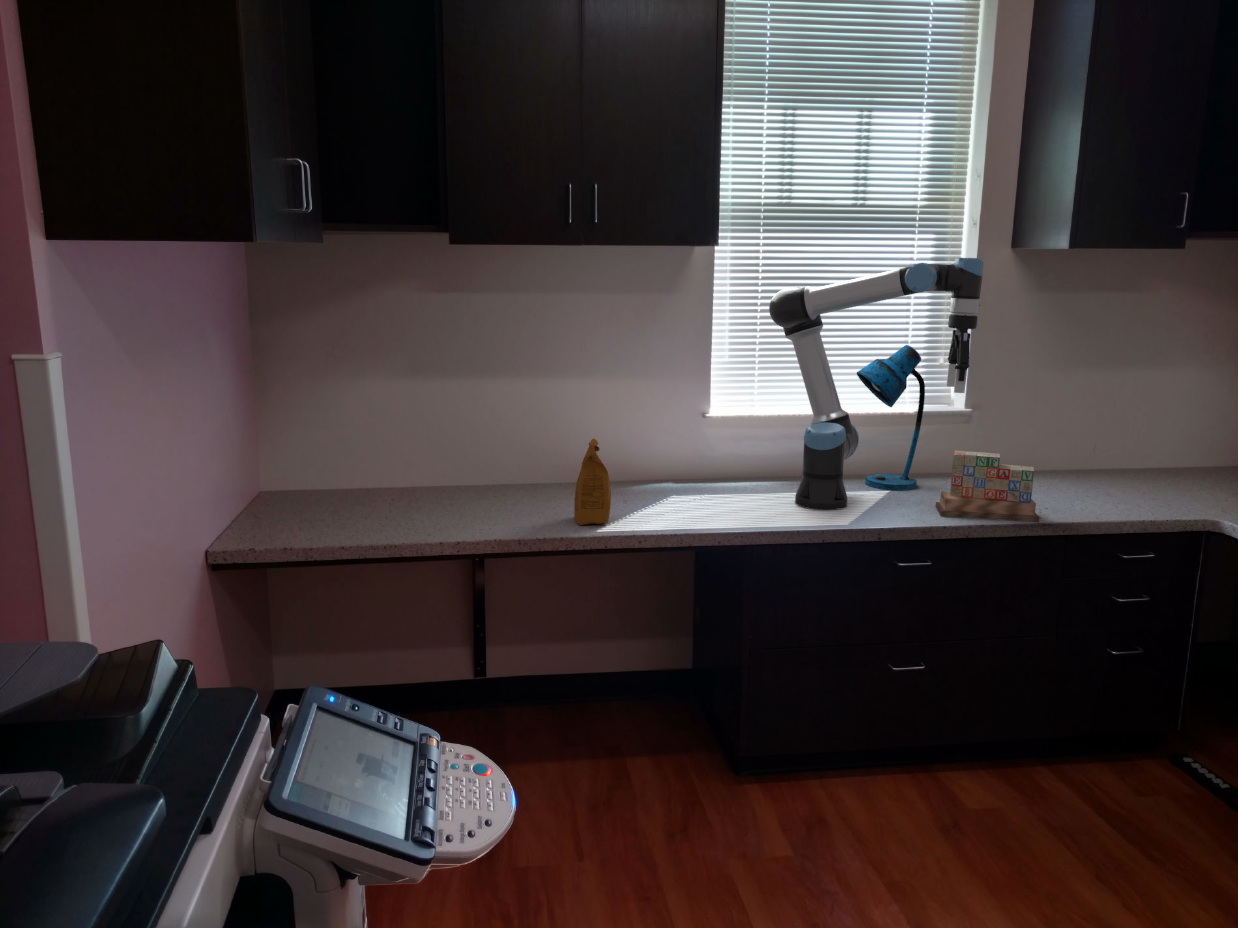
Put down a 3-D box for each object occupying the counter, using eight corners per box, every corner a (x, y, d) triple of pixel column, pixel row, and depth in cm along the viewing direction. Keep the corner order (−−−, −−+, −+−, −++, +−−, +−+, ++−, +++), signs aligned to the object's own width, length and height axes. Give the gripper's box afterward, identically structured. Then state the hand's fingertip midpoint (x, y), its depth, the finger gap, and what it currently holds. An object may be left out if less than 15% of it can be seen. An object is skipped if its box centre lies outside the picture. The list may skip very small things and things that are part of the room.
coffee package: (610, 514, 261) (611, 437, 256) (610, 526, 248) (611, 445, 244) (575, 514, 260) (575, 437, 256) (573, 526, 248) (573, 445, 244)
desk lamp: (843, 479, 309) (852, 342, 300) (908, 479, 310) (919, 343, 301) (858, 490, 293) (868, 346, 284) (927, 490, 294) (938, 347, 285)
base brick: (941, 516, 263) (942, 499, 262) (935, 506, 274) (936, 490, 273) (1038, 521, 258) (1040, 504, 257) (1029, 511, 269) (1030, 495, 268)
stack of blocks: (1031, 498, 263) (1035, 456, 261) (1030, 503, 258) (1035, 460, 255) (951, 491, 272) (954, 449, 269) (949, 495, 266) (953, 453, 264)
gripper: (986, 317, 248) (977, 396, 253) (969, 312, 272) (961, 384, 277) (956, 316, 249) (948, 394, 254) (942, 311, 273) (935, 383, 278)
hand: (955, 389), depth 265 cm, fingers open, 13 cm apart
